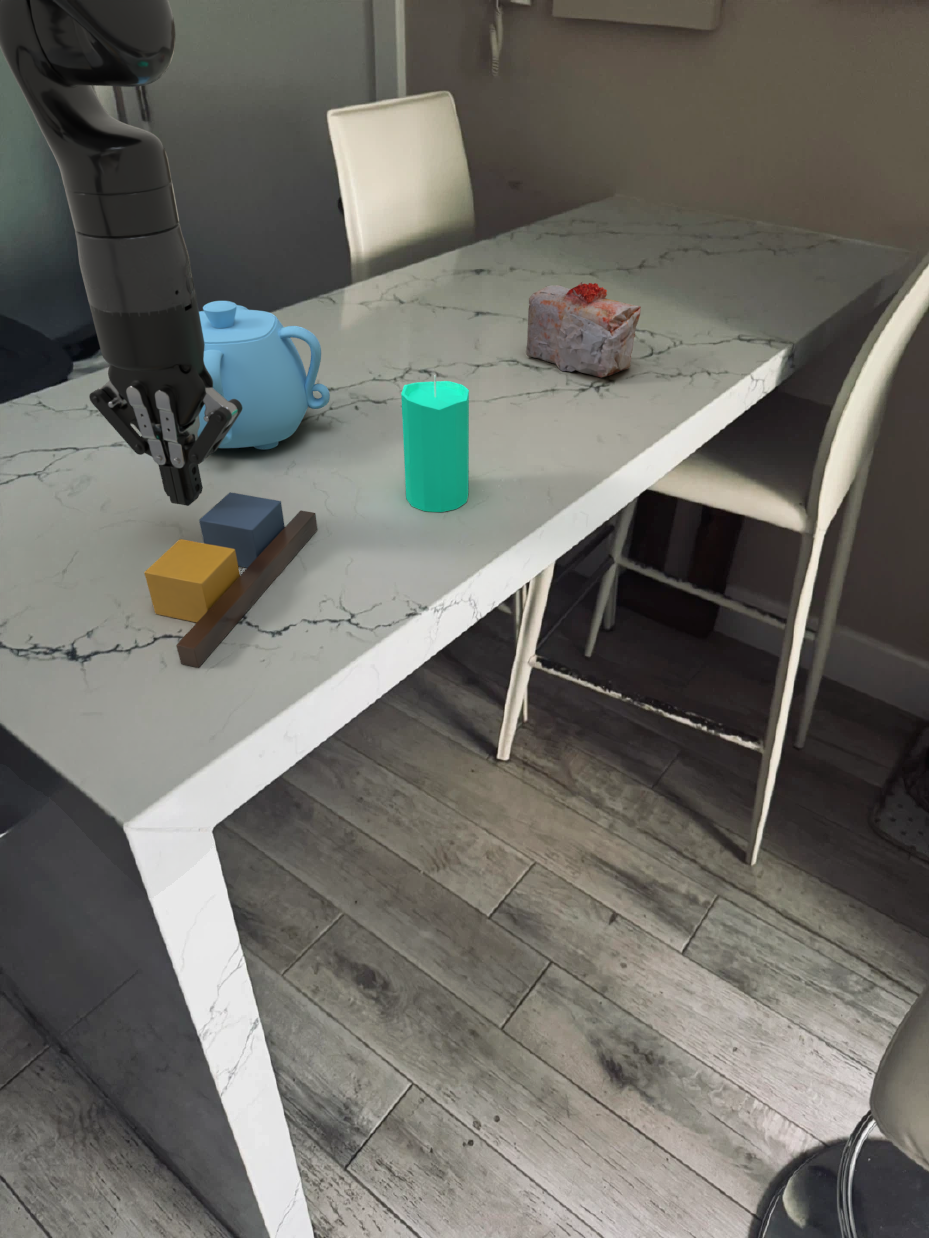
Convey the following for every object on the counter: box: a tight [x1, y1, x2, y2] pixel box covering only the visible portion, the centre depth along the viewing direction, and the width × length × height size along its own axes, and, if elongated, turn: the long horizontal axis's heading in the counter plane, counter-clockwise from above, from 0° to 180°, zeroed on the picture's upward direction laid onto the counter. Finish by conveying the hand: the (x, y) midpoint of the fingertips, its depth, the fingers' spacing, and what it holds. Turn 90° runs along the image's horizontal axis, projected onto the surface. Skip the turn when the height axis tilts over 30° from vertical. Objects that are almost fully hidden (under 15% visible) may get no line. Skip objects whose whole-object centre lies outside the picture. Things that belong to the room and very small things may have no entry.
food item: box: [525, 281, 642, 379], centre depth 107 cm, size 14×8×10 cm, turn 50°
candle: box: [400, 374, 470, 513], centre depth 79 cm, size 6×6×12 cm
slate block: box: [198, 491, 286, 569], centre depth 74 cm, size 5×5×4 cm
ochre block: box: [143, 538, 241, 623], centre depth 68 cm, size 5×5×4 cm
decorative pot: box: [198, 300, 331, 450], centre depth 90 cm, size 16×16×14 cm
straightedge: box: [176, 509, 318, 669], centre depth 70 cm, size 20×2×2 cm, turn 162°
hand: (186, 500), depth 74 cm, fingers closed
